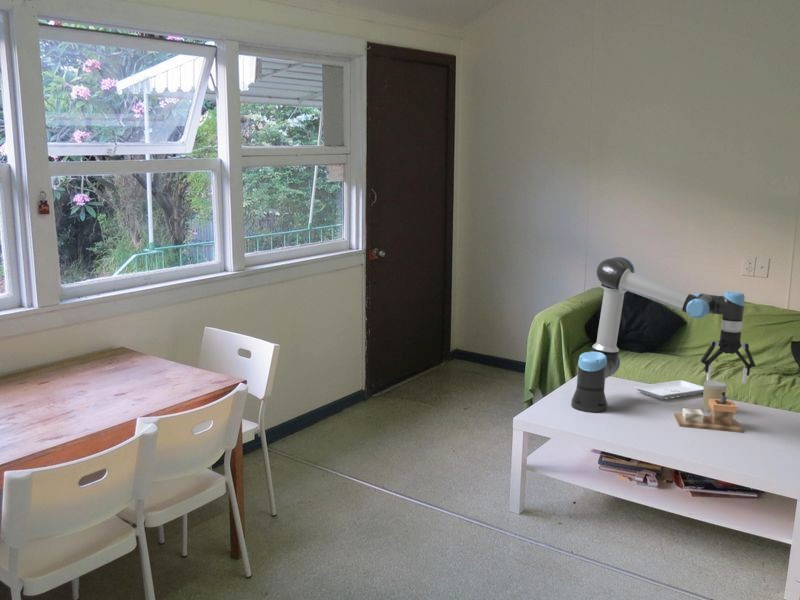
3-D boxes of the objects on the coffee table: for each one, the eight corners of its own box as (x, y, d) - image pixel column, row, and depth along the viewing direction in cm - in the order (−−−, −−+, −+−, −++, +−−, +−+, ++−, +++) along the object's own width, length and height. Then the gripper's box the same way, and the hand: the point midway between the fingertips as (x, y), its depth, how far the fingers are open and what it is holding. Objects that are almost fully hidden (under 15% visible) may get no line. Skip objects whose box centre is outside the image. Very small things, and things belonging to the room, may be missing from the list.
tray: (632, 392, 343) (633, 385, 343) (680, 386, 358) (681, 379, 357) (660, 403, 329) (661, 395, 328) (709, 395, 343) (709, 388, 343)
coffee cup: (726, 414, 315) (729, 387, 313) (703, 412, 317) (706, 385, 315) (721, 407, 324) (724, 381, 322) (698, 405, 326) (701, 379, 324)
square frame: (712, 410, 295) (713, 404, 295) (708, 403, 304) (708, 398, 304) (736, 412, 294) (737, 406, 293) (731, 406, 302) (732, 400, 302)
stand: (679, 426, 297) (682, 397, 295) (674, 415, 310) (676, 387, 308) (742, 432, 292) (746, 403, 290) (734, 421, 305) (737, 393, 303)
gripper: (699, 330, 292) (694, 381, 296) (767, 334, 287) (761, 386, 291) (696, 326, 300) (691, 376, 303) (762, 330, 295) (756, 381, 298)
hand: (725, 381), depth 297 cm, fingers open, 13 cm apart
